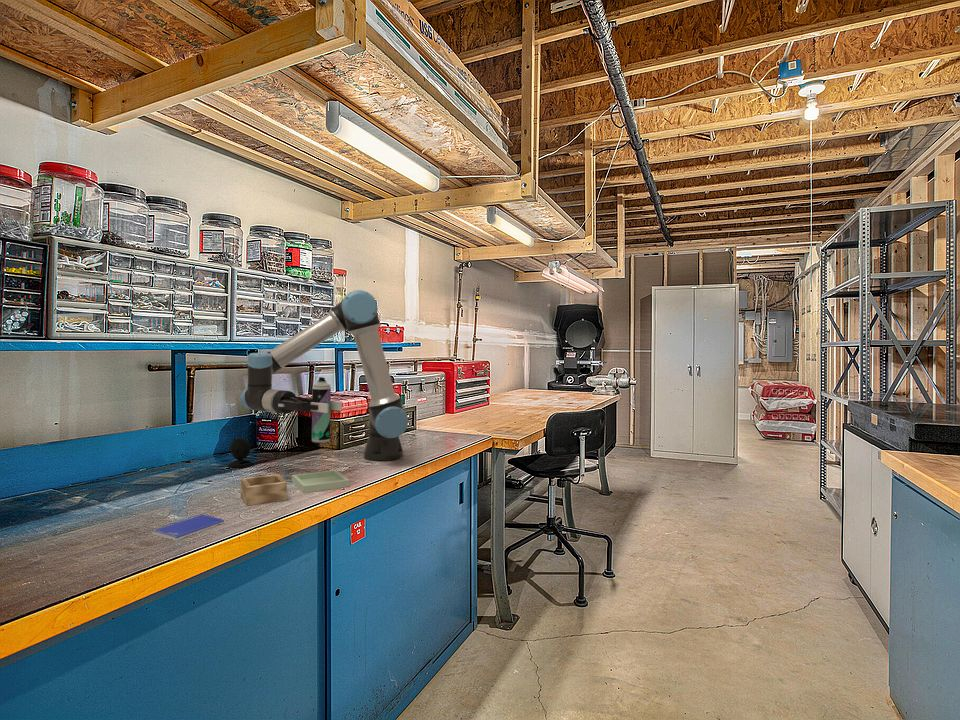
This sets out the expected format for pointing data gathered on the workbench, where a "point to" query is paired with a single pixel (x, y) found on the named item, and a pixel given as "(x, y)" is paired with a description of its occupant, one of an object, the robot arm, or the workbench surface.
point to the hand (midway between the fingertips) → (334, 407)
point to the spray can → (320, 419)
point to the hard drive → (187, 527)
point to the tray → (320, 481)
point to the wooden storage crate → (263, 489)
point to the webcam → (240, 453)
